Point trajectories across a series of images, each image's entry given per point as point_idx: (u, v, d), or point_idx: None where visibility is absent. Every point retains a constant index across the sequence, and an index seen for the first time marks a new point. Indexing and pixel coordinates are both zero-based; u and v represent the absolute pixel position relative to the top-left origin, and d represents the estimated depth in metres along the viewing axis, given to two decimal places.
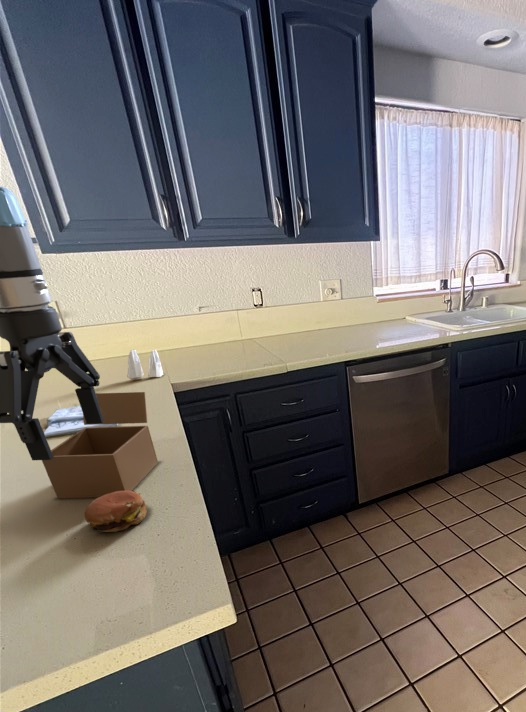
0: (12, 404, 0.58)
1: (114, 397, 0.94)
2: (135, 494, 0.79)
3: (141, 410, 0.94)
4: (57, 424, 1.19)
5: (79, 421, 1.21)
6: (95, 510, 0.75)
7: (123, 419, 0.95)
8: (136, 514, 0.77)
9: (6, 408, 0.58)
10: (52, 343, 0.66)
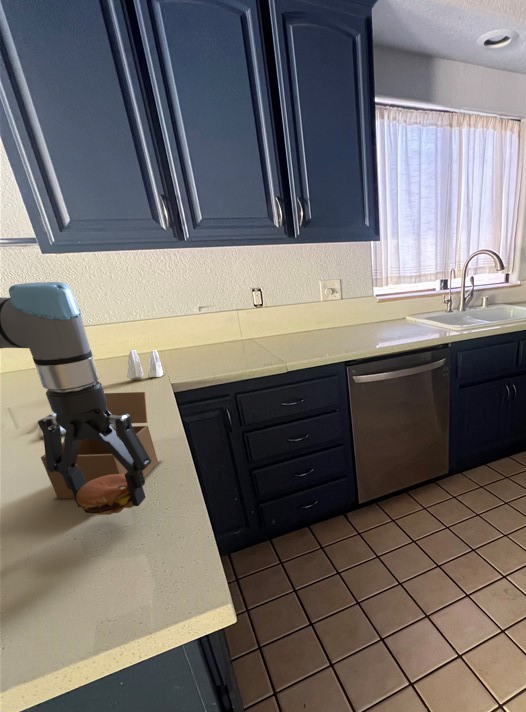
0: (144, 451, 0.74)
1: (114, 397, 0.94)
2: None
3: (141, 410, 0.94)
4: None
5: None
6: (87, 492, 0.73)
7: None
8: (129, 498, 0.76)
9: (144, 456, 0.74)
10: None
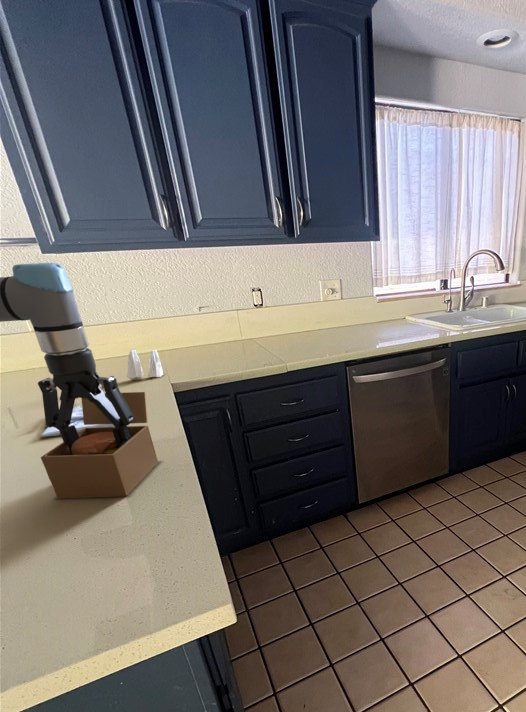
0: (129, 409, 0.87)
1: None
2: None
3: (141, 410, 0.94)
4: None
5: (79, 421, 1.21)
6: (80, 444, 0.86)
7: None
8: None
9: (128, 413, 0.87)
10: None
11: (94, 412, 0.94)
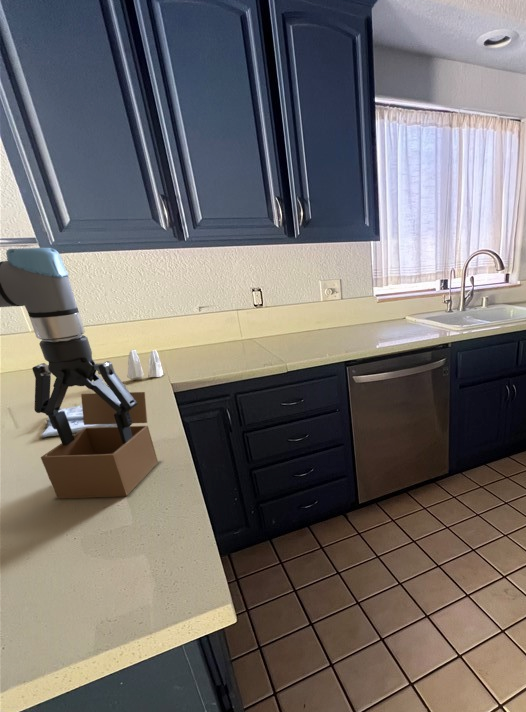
0: (129, 394, 0.86)
1: None
2: None
3: (141, 410, 0.94)
4: None
5: (79, 421, 1.21)
6: None
7: None
8: None
9: (129, 398, 0.85)
10: None
11: (94, 412, 0.94)
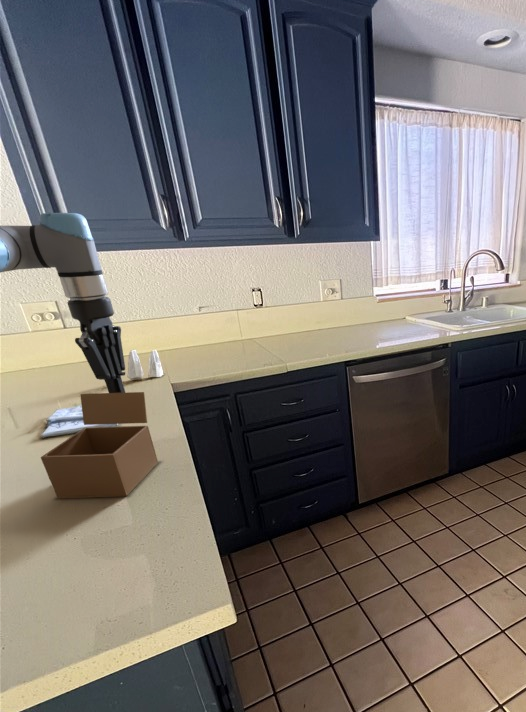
0: None
1: (113, 397, 0.94)
2: None
3: (141, 410, 0.94)
4: (57, 424, 1.19)
5: (79, 421, 1.21)
6: None
7: (123, 419, 0.95)
8: None
9: None
10: None
11: (94, 412, 0.94)
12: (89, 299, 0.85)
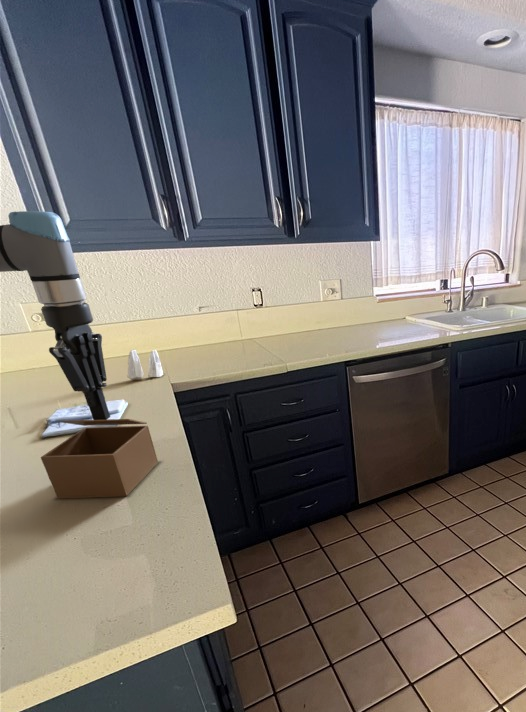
0: None
1: (99, 421, 0.89)
2: None
3: (135, 422, 0.92)
4: (57, 424, 1.19)
5: None
6: None
7: (121, 424, 0.94)
8: None
9: None
10: None
11: (87, 424, 0.92)
12: (64, 305, 0.78)
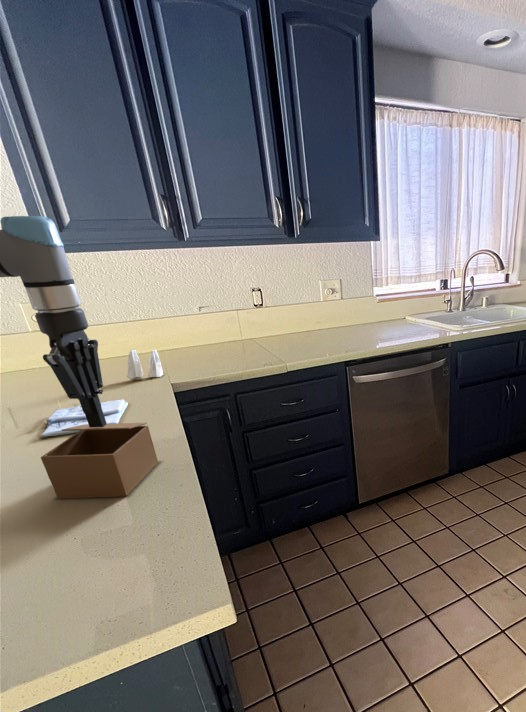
0: None
1: None
2: None
3: None
4: (57, 424, 1.19)
5: (79, 421, 1.21)
6: None
7: None
8: None
9: None
10: None
11: (87, 427, 0.92)
12: (58, 311, 0.76)
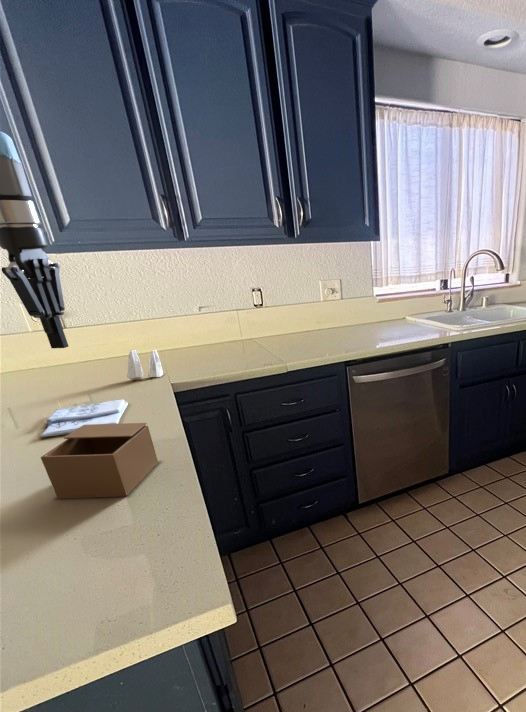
0: None
1: None
2: None
3: None
4: (57, 424, 1.19)
5: (79, 421, 1.21)
6: None
7: None
8: None
9: None
10: None
11: None
12: (17, 226, 0.80)
